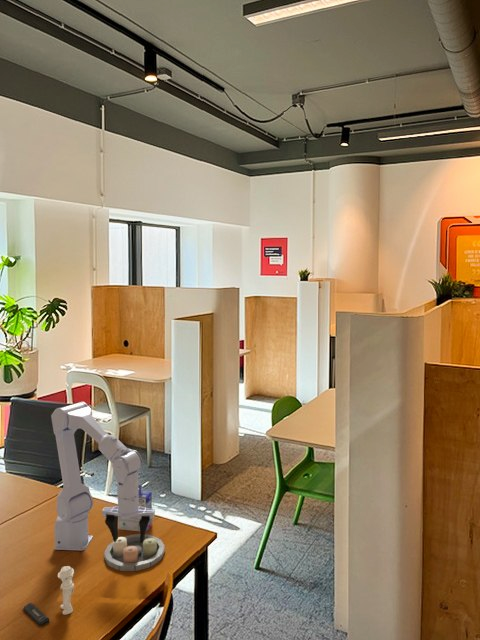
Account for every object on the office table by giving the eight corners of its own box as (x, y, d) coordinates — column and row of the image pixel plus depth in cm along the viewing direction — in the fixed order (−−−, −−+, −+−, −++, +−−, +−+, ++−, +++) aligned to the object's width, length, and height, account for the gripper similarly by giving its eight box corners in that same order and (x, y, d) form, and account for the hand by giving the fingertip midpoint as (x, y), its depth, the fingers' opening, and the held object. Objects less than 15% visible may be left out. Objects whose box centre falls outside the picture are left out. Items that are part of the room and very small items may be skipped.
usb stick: (22, 611, 133) (21, 605, 133) (32, 606, 135) (31, 600, 135) (40, 629, 127) (40, 623, 127) (50, 623, 129) (50, 617, 128)
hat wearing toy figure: (78, 617, 130) (76, 571, 129) (61, 622, 128) (59, 576, 127) (72, 596, 138) (70, 553, 137) (56, 600, 136) (54, 557, 135)
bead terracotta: (125, 558, 154) (125, 545, 153) (139, 559, 154) (139, 546, 153) (121, 566, 150) (121, 553, 149) (135, 567, 150) (135, 553, 149)
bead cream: (111, 556, 155) (111, 543, 154) (115, 549, 159) (114, 536, 158) (125, 557, 155) (124, 544, 154) (128, 549, 159) (128, 536, 158)
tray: (97, 573, 148) (97, 564, 148) (115, 540, 165) (115, 533, 165) (157, 575, 147) (156, 567, 147) (169, 542, 164) (169, 535, 164)
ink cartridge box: (153, 526, 174) (152, 484, 172) (147, 535, 169) (146, 491, 167) (125, 523, 176) (124, 482, 174) (118, 532, 171) (116, 489, 169)
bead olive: (141, 558, 154) (141, 545, 154) (144, 550, 158) (144, 537, 158) (155, 558, 154) (154, 545, 153) (158, 551, 158) (157, 538, 157)
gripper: (98, 500, 145) (99, 547, 146) (150, 502, 144) (151, 549, 145) (106, 489, 152) (107, 533, 153) (156, 490, 151) (156, 535, 152)
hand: (129, 540), depth 150 cm, fingers open, 7 cm apart
